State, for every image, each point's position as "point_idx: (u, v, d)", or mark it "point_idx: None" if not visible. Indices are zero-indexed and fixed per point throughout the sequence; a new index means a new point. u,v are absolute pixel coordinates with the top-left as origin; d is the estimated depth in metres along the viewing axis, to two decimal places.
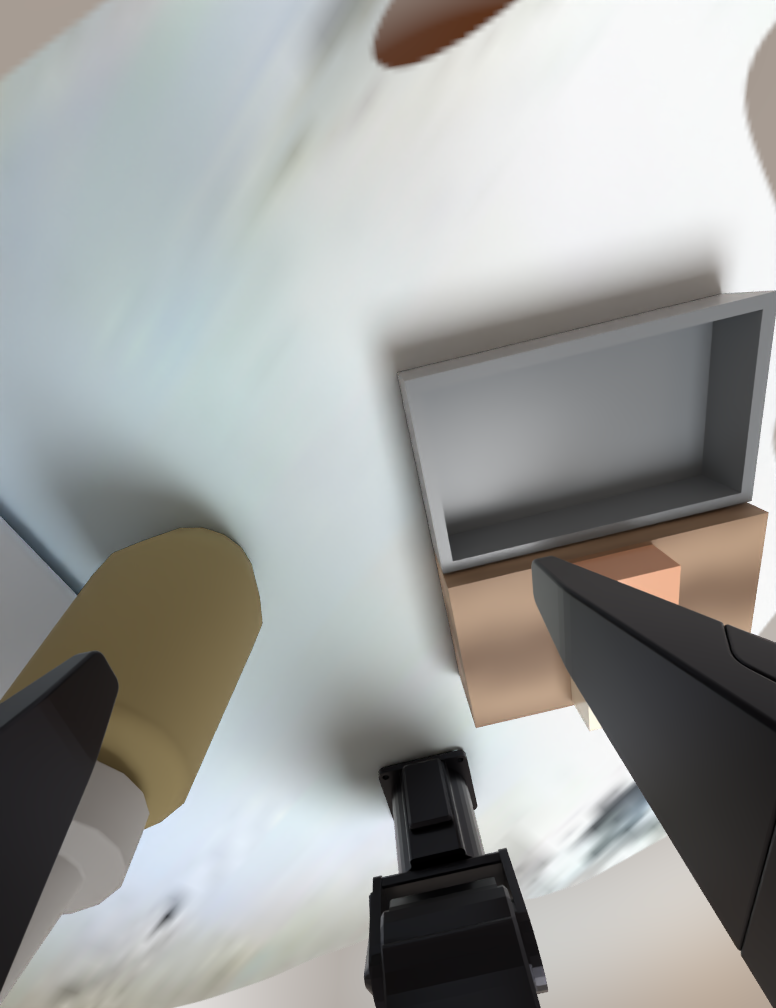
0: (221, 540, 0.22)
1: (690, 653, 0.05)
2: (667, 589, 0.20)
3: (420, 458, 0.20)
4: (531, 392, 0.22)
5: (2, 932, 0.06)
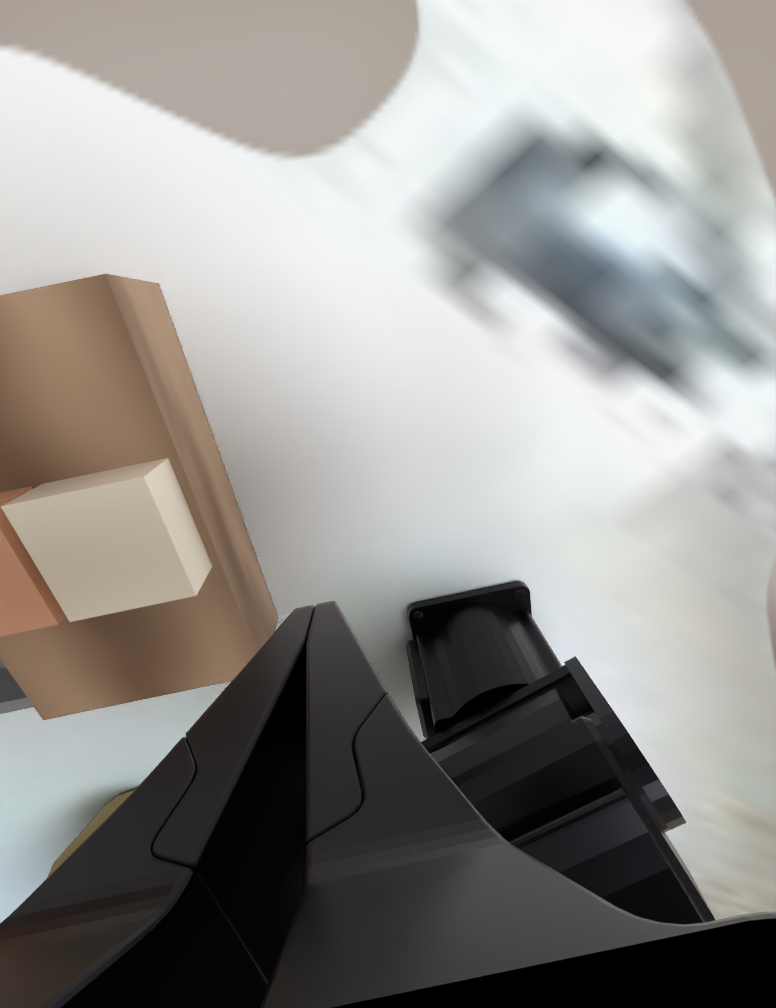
0: (87, 825, 0.26)
1: (324, 729, 0.05)
2: None
3: None
4: None
5: None
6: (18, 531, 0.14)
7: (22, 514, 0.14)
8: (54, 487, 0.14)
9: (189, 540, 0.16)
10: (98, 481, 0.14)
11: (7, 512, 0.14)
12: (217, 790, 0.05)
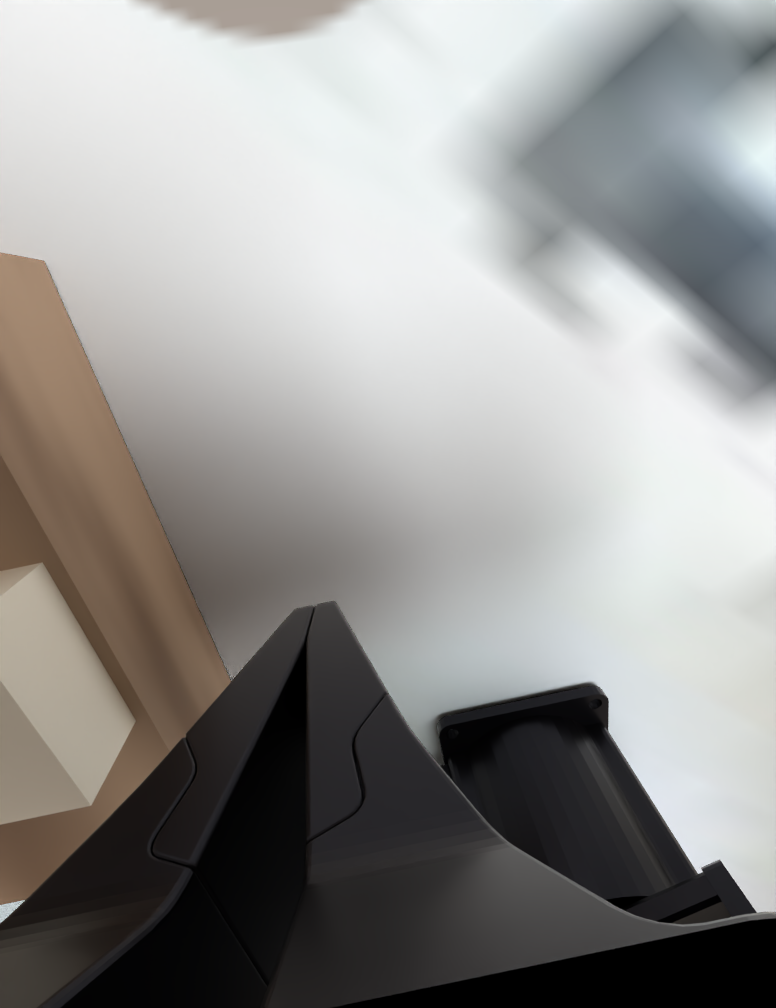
0: None
1: (324, 729, 0.05)
2: None
3: None
4: None
5: (302, 869, 0.06)
6: None
7: None
8: None
9: (84, 700, 0.09)
10: None
11: None
12: (217, 790, 0.05)
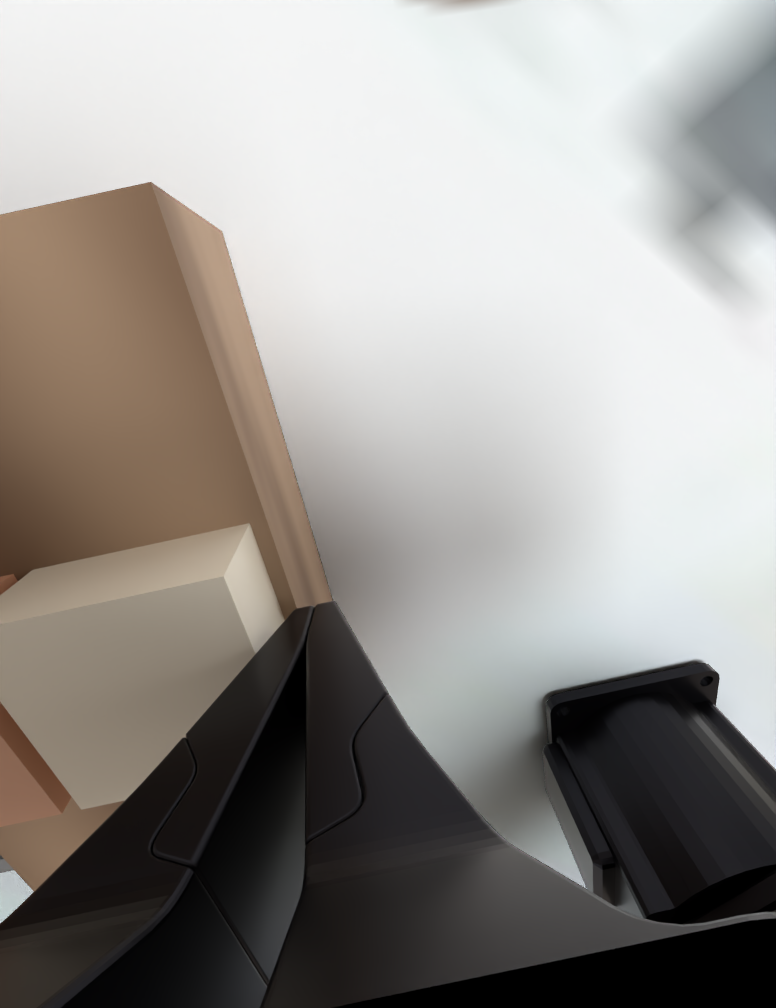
0: None
1: (324, 729, 0.05)
2: None
3: None
4: None
5: (302, 869, 0.06)
6: None
7: None
8: (53, 584, 0.08)
9: None
10: (134, 578, 0.08)
11: None
12: (217, 790, 0.05)
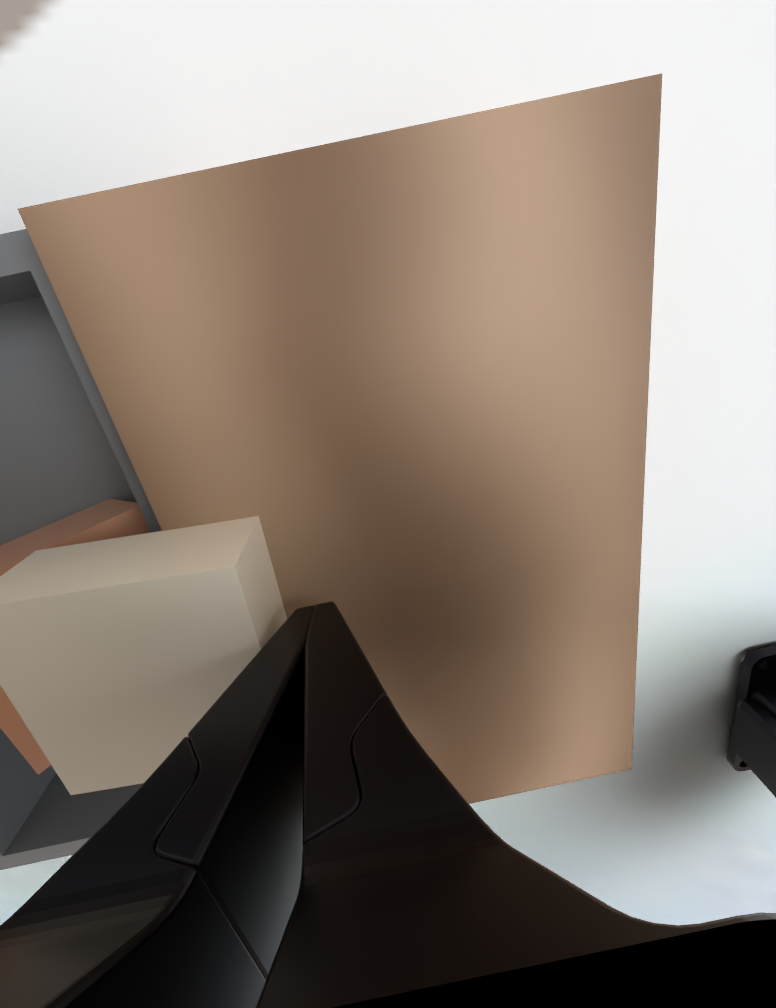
0: None
1: (322, 729, 0.05)
2: None
3: None
4: None
5: None
6: None
7: None
8: (58, 566, 0.08)
9: None
10: (142, 563, 0.08)
11: None
12: (220, 789, 0.05)
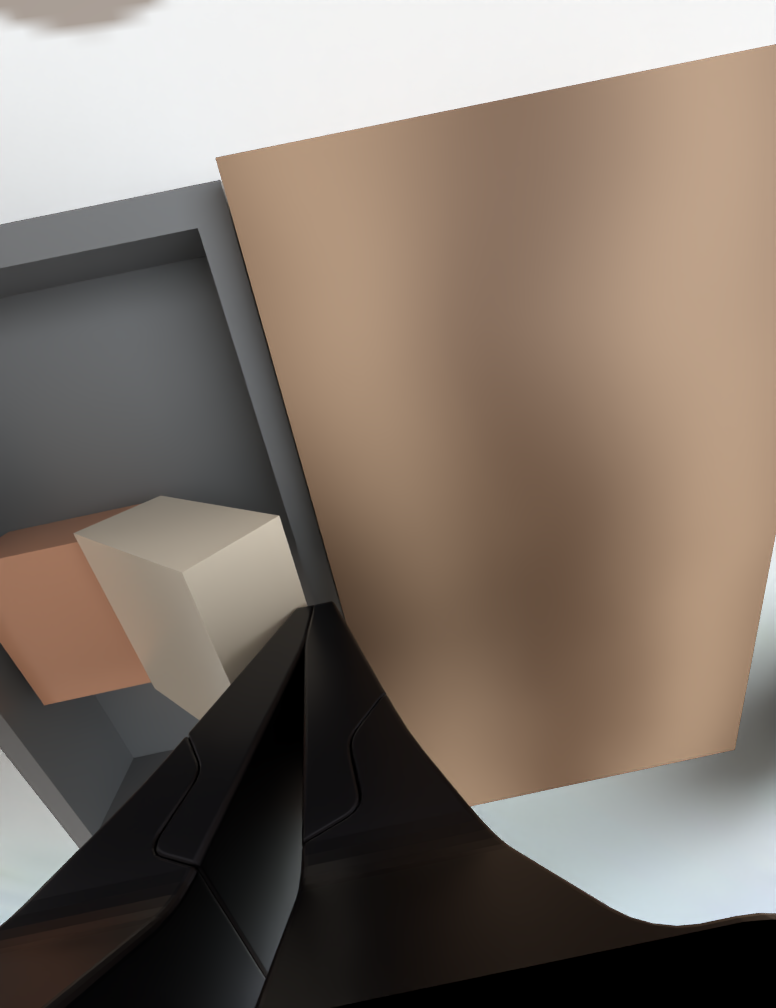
0: None
1: (322, 729, 0.05)
2: None
3: None
4: None
5: None
6: (97, 567, 0.10)
7: (90, 552, 0.09)
8: (143, 516, 0.10)
9: None
10: (163, 537, 0.08)
11: (83, 540, 0.10)
12: (220, 789, 0.05)
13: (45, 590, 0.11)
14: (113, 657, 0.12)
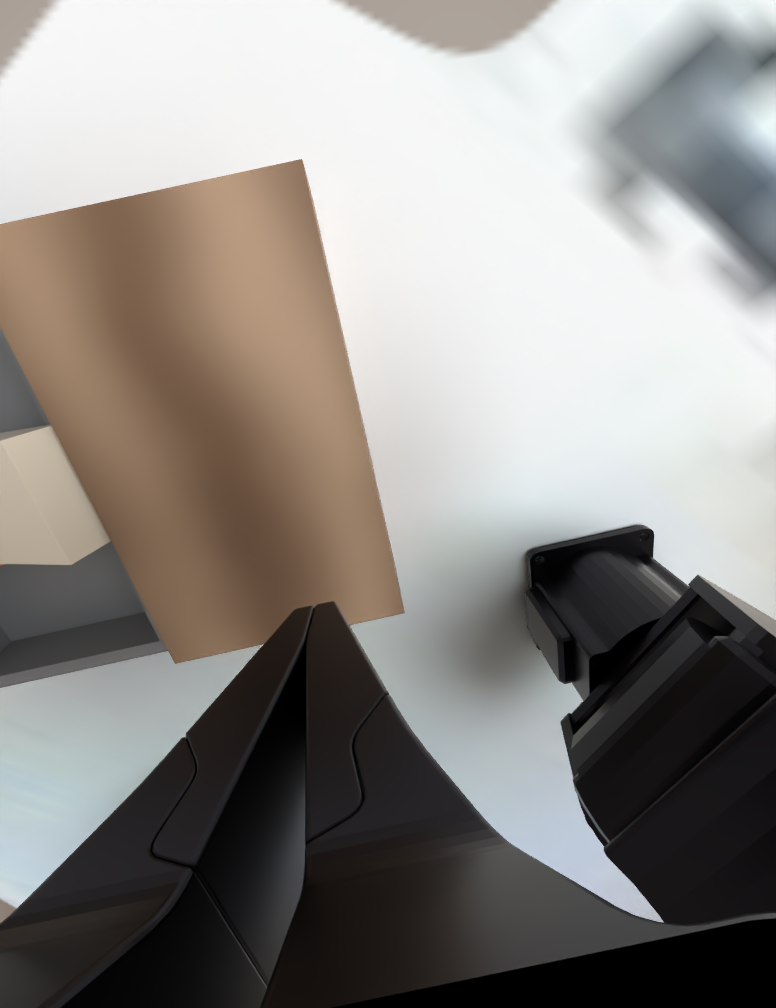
0: None
1: (324, 729, 0.05)
2: None
3: (40, 677, 0.20)
4: None
5: (302, 870, 0.06)
6: None
7: None
8: None
9: (78, 507, 0.16)
10: None
11: None
12: (217, 790, 0.05)
13: None
14: None
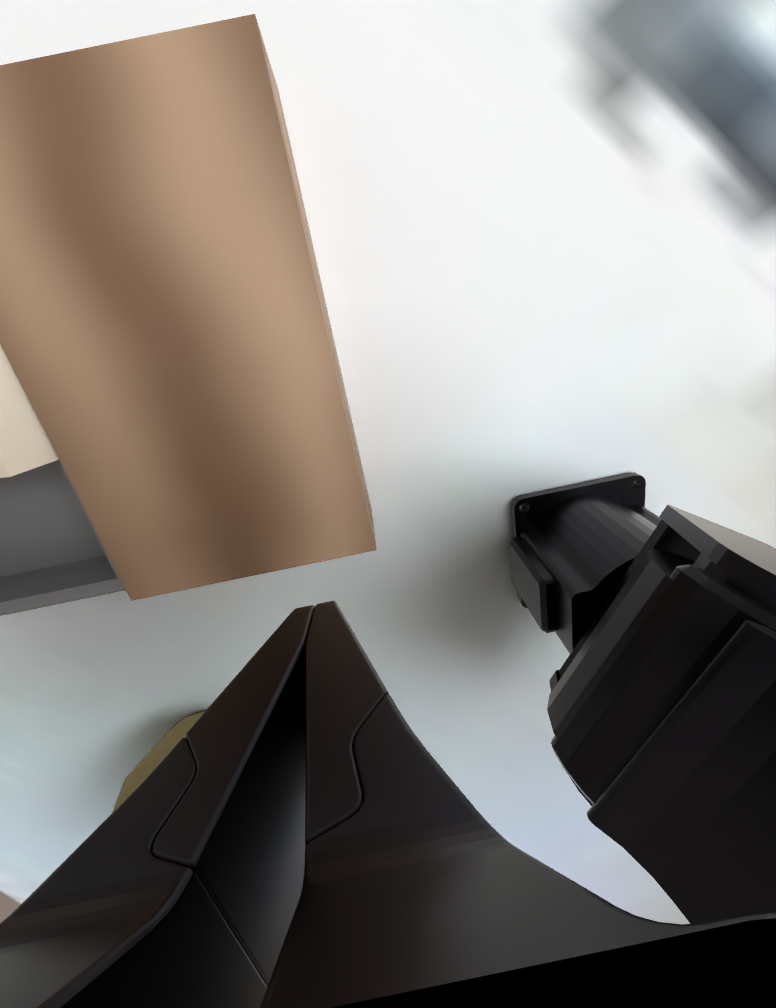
0: (155, 746, 0.24)
1: (324, 729, 0.05)
2: None
3: None
4: None
5: (302, 870, 0.06)
6: None
7: None
8: None
9: (21, 417, 0.14)
10: None
11: None
12: (217, 790, 0.05)
13: None
14: None
